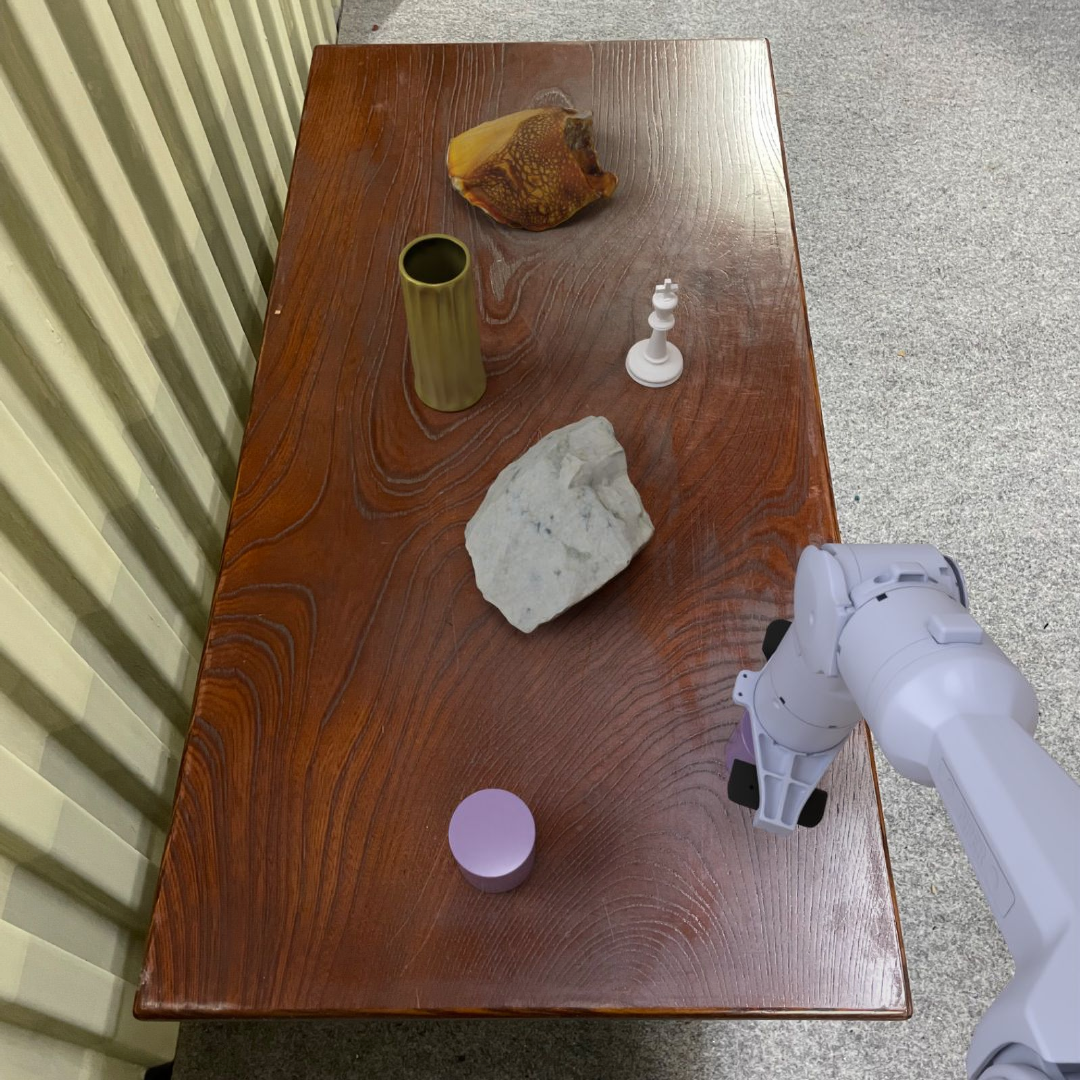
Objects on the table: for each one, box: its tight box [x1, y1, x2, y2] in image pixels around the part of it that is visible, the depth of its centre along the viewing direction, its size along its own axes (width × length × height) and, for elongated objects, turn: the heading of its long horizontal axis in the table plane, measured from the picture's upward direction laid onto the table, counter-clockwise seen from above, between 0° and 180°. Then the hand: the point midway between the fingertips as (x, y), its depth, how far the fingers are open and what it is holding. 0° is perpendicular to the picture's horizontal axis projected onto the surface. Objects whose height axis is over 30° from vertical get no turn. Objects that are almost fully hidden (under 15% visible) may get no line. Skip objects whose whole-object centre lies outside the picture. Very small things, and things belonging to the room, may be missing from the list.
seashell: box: [445, 104, 620, 232], centre depth 89 cm, size 17×8×15 cm
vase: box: [398, 233, 488, 413], centre depth 74 cm, size 6×6×14 cm
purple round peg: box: [724, 708, 756, 774], centre depth 62 cm, size 5×5×6 cm
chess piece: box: [625, 278, 684, 388], centre depth 76 cm, size 5×5×10 cm
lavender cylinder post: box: [448, 788, 537, 894], centre depth 59 cm, size 5×5×6 cm
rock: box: [464, 415, 656, 635], centre depth 69 cm, size 15×16×8 cm
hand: (769, 749), depth 63 cm, fingers open, 7 cm apart
